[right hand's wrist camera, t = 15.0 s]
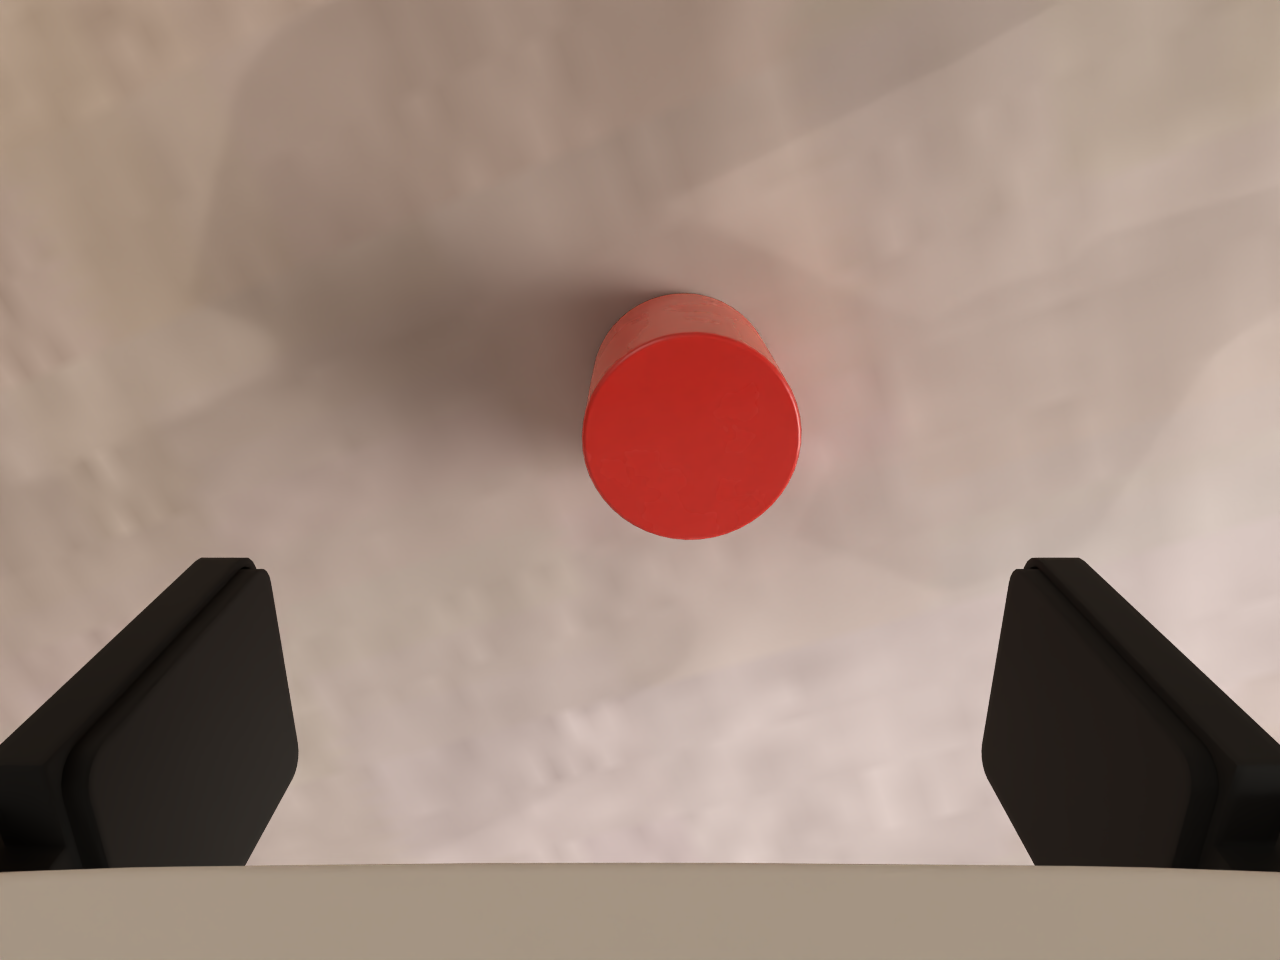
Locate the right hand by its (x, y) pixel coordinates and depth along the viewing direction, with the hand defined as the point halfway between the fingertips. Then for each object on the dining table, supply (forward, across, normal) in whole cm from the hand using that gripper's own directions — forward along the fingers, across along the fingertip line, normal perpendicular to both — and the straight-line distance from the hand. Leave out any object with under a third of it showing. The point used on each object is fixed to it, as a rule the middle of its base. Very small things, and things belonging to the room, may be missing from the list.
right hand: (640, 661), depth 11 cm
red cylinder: (+9, -1, -1) cm, 9 cm away
